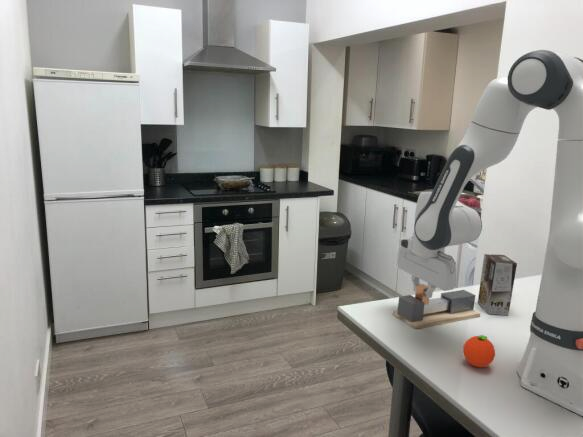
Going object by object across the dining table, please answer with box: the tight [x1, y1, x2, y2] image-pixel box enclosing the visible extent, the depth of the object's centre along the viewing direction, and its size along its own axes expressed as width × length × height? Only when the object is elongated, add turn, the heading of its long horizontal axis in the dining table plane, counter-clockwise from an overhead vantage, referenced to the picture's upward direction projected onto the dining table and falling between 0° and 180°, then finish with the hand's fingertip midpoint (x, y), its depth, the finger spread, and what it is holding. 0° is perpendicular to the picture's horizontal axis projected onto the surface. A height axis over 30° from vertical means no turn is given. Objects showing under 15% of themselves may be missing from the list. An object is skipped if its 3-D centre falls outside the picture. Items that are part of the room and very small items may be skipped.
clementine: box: [462, 334, 496, 368], centre depth 110 cm, size 8×7×7 cm
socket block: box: [397, 294, 425, 322], centre depth 132 cm, size 6×4×5 cm, turn 26°
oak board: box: [392, 309, 482, 330], centre depth 137 cm, size 10×24×1 cm, turn 116°
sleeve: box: [440, 289, 476, 314], centre depth 140 cm, size 5×9×5 cm, turn 116°
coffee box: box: [477, 253, 518, 316], centre depth 143 cm, size 9×6×16 cm
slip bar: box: [414, 283, 451, 314], centre depth 135 cm, size 3×15×8 cm, turn 116°
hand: (422, 294), depth 133 cm, fingers closed on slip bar, 3 cm apart
